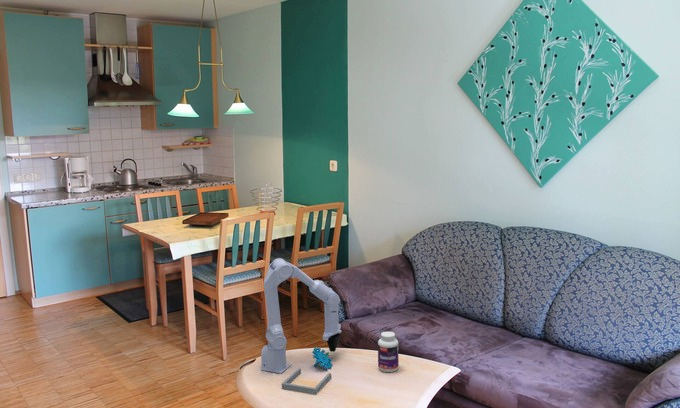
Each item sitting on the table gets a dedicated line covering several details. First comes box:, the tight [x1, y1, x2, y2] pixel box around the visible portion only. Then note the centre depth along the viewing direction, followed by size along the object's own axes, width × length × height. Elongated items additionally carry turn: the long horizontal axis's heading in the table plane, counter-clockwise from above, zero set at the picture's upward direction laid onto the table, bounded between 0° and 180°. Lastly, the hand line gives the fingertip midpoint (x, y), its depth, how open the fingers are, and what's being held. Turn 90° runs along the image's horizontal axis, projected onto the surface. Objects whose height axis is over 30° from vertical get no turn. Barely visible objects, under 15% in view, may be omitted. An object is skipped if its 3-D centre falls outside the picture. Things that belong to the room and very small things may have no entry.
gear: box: [311, 346, 333, 370], centre depth 239 cm, size 11×6×10 cm
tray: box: [281, 367, 332, 396], centre depth 224 cm, size 14×14×2 cm
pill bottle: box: [377, 331, 400, 373], centre depth 234 cm, size 8×8×14 cm
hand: (332, 350), depth 246 cm, fingers closed
